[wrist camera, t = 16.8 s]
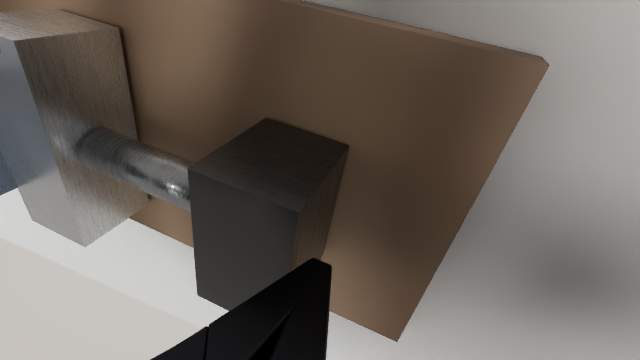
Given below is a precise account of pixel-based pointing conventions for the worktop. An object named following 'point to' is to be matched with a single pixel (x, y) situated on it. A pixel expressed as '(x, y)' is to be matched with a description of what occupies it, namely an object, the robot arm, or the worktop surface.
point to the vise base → (328, 121)
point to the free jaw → (154, 161)
